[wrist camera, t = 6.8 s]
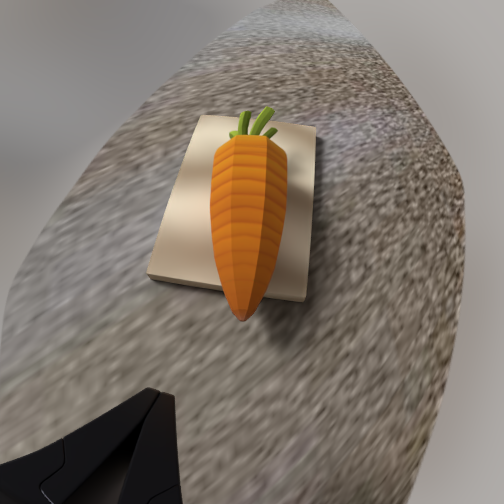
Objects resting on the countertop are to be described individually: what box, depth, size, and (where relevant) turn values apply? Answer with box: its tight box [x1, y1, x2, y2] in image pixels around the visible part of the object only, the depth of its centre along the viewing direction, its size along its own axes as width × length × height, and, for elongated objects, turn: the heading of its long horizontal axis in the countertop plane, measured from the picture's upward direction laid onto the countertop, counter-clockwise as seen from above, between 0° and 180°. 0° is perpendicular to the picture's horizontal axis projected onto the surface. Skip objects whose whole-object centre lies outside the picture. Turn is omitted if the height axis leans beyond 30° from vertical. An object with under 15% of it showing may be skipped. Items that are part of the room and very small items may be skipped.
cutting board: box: [146, 115, 316, 302], centre depth 23 cm, size 15×10×1 cm, turn 172°
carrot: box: [210, 107, 287, 321], centre depth 19 cm, size 5×5×15 cm
